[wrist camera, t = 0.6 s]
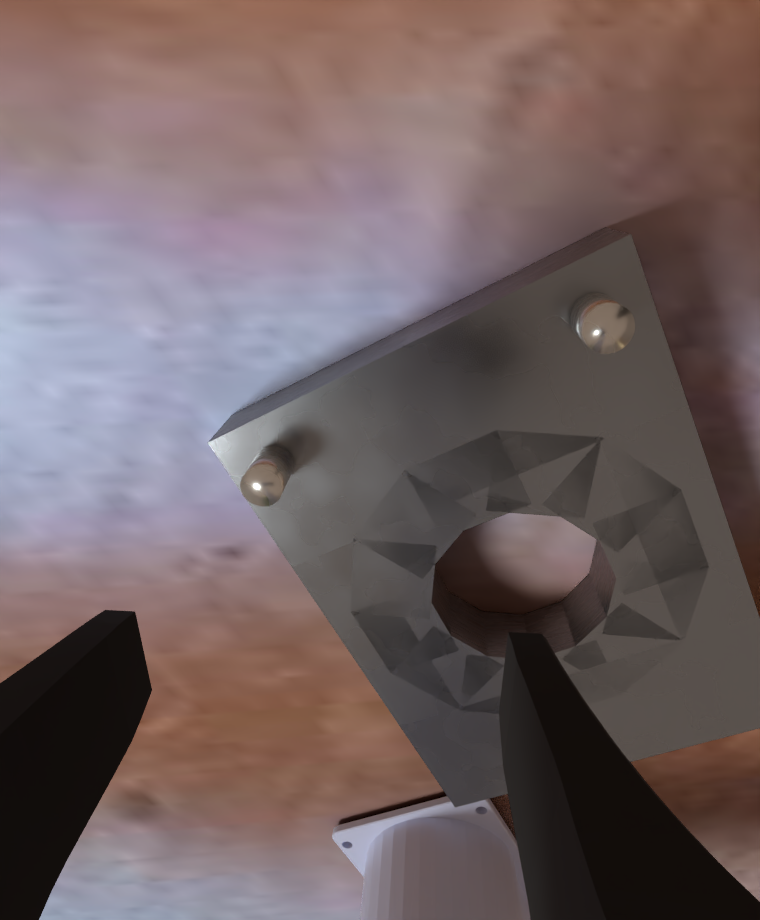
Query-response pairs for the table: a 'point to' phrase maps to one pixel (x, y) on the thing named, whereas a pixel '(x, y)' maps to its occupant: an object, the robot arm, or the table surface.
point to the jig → (513, 491)
